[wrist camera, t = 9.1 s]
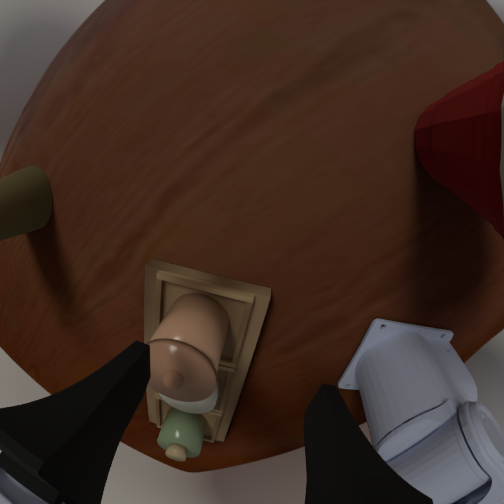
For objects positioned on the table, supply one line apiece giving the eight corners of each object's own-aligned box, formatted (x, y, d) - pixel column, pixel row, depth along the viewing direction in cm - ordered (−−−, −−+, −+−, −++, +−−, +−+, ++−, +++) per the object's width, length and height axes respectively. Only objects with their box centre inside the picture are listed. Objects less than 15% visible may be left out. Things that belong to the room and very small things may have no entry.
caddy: (271, 288, 20) (270, 300, 18) (224, 433, 28) (222, 445, 26) (152, 258, 20) (142, 268, 18) (152, 414, 27) (148, 424, 26)
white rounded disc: (224, 369, 22) (220, 386, 20) (216, 403, 23) (212, 419, 22) (164, 352, 22) (156, 368, 20) (164, 388, 23) (157, 403, 22)
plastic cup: (364, 200, 17) (477, 286, 6) (388, 51, 13) (496, -21, 2) (476, 233, 17) (577, 306, 6) (497, 109, 13) (607, 117, 2)
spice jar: (236, 299, 19) (216, 370, 12) (226, 349, 21) (209, 420, 14) (170, 284, 19) (126, 344, 13) (168, 335, 21) (135, 398, 14)
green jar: (208, 413, 24) (198, 454, 19) (205, 432, 26) (196, 469, 21) (167, 402, 24) (152, 441, 19) (168, 422, 26) (155, 458, 21)
